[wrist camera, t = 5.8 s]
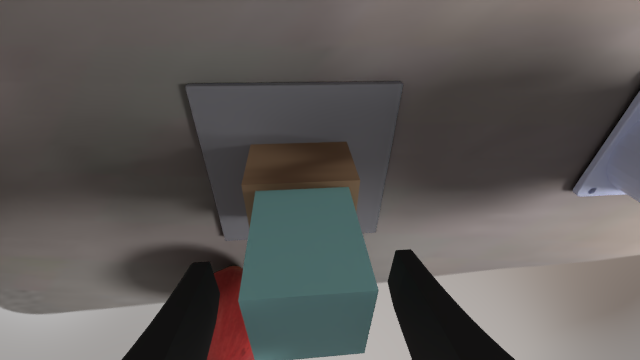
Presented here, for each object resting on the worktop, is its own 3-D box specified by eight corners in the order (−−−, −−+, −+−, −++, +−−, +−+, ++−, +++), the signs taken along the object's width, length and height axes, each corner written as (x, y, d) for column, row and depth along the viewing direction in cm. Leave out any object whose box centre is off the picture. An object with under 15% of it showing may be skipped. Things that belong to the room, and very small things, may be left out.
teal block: (343, 248, 15) (364, 352, 11) (264, 253, 14) (255, 362, 10) (349, 186, 12) (378, 290, 8) (255, 191, 12) (238, 301, 8)
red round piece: (280, 287, 23) (276, 412, 16) (207, 296, 22) (174, 425, 16) (267, 237, 19) (255, 370, 13) (181, 247, 19) (125, 387, 12)
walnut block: (346, 141, 15) (360, 180, 12) (341, 212, 18) (351, 256, 15) (250, 144, 14) (241, 185, 12) (261, 216, 17) (255, 262, 15)
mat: (400, 81, 14) (403, 83, 13) (374, 228, 20) (375, 232, 19) (187, 83, 13) (184, 86, 13) (226, 236, 19) (225, 240, 18)
